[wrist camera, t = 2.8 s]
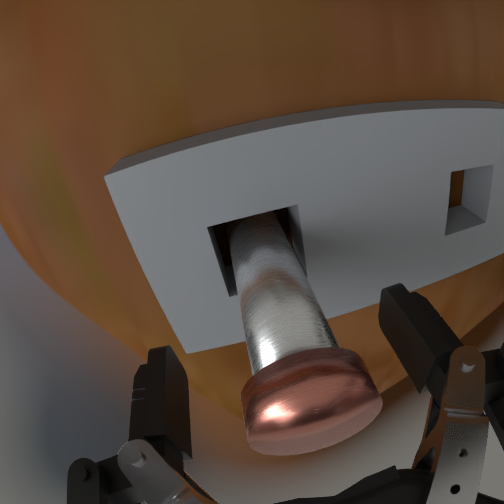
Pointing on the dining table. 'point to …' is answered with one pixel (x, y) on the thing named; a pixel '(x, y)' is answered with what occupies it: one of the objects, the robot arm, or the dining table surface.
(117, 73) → the dining table surface
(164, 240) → the mount board
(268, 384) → the lock pin
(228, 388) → the dining table surface
